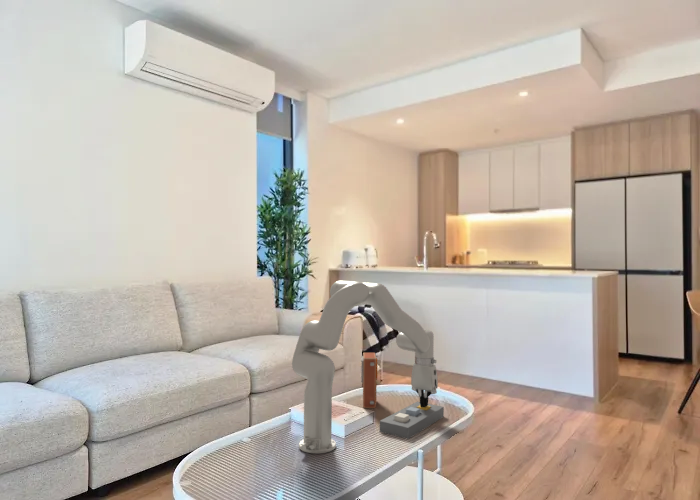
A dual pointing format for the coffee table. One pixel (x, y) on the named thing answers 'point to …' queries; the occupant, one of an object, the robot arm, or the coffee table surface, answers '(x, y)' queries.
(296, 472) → the coffee table surface
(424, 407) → the amber button
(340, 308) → the robot arm
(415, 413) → the slate button
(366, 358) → the terracotta rectangular block
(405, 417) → the white button
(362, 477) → the coffee table surface
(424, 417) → the button strip
